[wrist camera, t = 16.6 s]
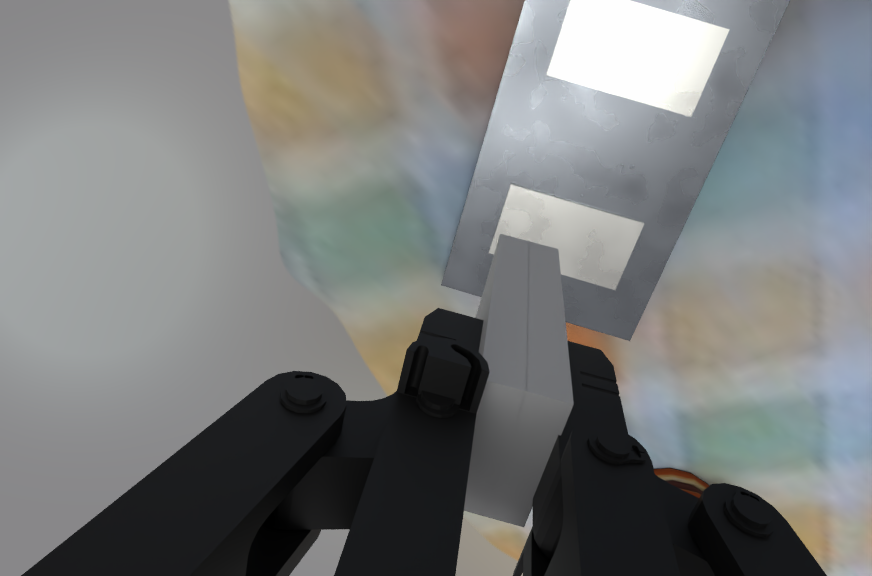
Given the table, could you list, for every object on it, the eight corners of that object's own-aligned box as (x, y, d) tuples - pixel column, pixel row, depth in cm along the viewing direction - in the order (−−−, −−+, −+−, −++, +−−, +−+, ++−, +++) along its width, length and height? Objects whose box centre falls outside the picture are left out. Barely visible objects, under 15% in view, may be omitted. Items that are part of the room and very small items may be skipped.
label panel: (844, -139, 32) (943, -182, 25) (626, 330, 45) (647, 397, 38) (587, -213, 32) (606, -279, 25) (443, 276, 45) (426, 332, 38)
